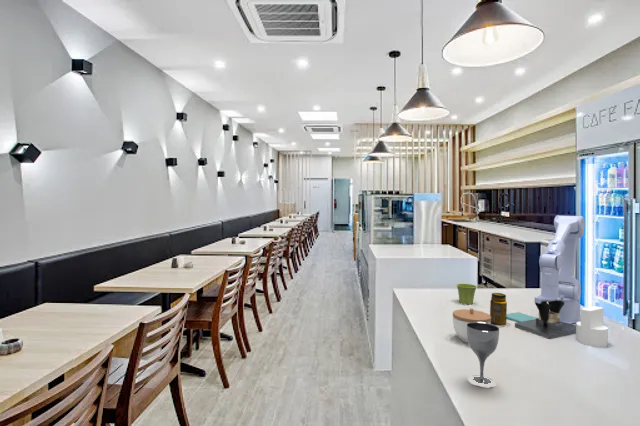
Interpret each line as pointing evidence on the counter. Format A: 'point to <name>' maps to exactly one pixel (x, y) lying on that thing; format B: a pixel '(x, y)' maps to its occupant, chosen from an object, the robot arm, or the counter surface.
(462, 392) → the counter surface
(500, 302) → the condiment
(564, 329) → the brushed metal panel
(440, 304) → the counter surface
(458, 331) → the lidded bowl
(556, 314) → the collar
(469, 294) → the plant pot
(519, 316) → the mat
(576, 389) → the counter surface
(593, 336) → the cylinder with rectangular tab
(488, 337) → the wine glass
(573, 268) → the robot arm
